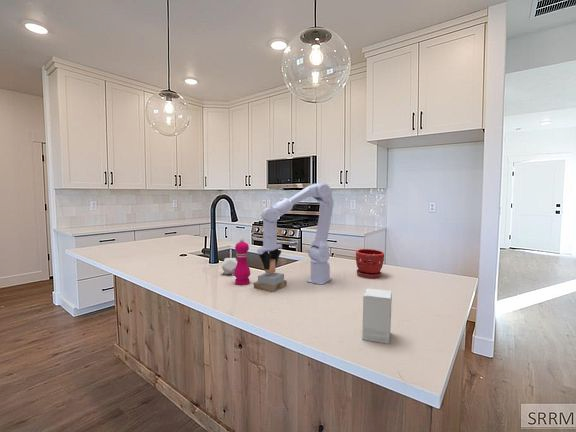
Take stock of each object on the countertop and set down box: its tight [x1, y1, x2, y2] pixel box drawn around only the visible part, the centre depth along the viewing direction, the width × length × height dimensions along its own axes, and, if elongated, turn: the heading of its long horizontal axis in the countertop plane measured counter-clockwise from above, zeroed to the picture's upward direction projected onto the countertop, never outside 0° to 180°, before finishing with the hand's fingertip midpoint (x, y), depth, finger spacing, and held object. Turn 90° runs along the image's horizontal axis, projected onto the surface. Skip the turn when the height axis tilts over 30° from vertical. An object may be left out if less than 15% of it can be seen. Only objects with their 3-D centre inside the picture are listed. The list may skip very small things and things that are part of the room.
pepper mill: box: [234, 238, 251, 286], centre depth 139 cm, size 7×7×20 cm
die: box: [221, 257, 238, 276], centre depth 154 cm, size 8×9×10 cm
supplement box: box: [361, 288, 393, 344], centre depth 88 cm, size 7×7×13 cm
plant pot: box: [355, 248, 385, 279], centre depth 151 cm, size 13×13×12 cm
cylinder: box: [264, 259, 276, 273], centre depth 133 cm, size 4×4×5 cm
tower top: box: [257, 272, 285, 286], centre depth 133 cm, size 8×8×3 cm
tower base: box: [253, 279, 288, 293], centre depth 133 cm, size 10×10×3 cm
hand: (270, 268), depth 133 cm, fingers closed on cylinder, 4 cm apart
